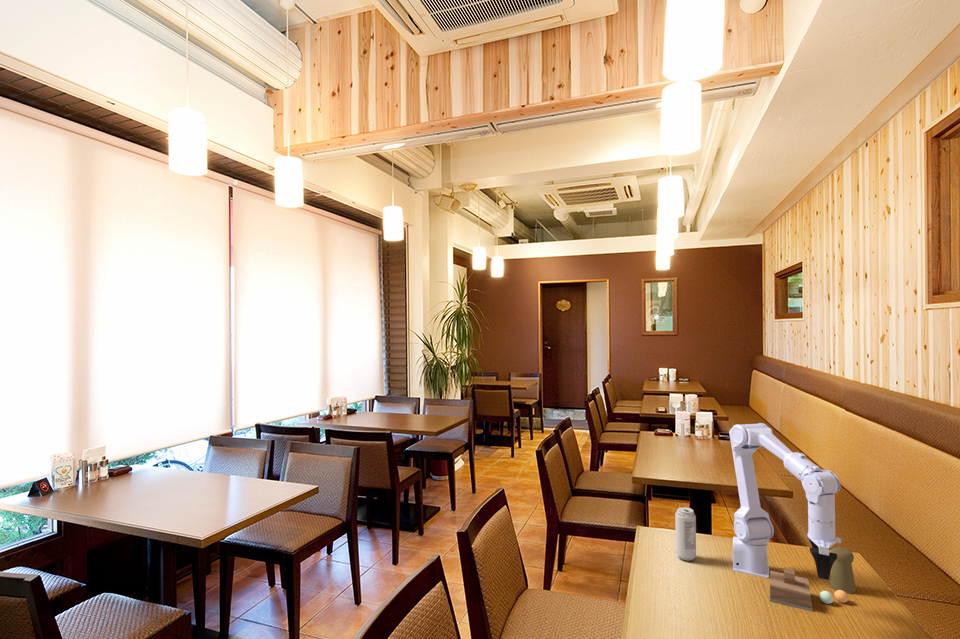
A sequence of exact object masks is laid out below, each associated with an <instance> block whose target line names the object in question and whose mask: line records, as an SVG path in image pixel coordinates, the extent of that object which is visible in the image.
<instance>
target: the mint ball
mask: <svg viewBox="0 0 960 639" xmlns="http://www.w3.org/2000/svg"><path fill="white" fill-rule="evenodd" d="M833 596H834V595H832V594H831V592H830V591H827V590H822V591H820V592H819V596H818V597H819V599H820V600H821V602H822V603H824V604H827V605H829V604H832V603H833V602H834V597H833Z"/></svg>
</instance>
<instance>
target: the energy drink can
mask: <svg viewBox="0 0 960 639" xmlns="http://www.w3.org/2000/svg"><path fill="white" fill-rule="evenodd" d="M674 514H675V515H674V518H675V521H674V522H675V554H676V555H677V557H678V558H679V559H680V560H683V561H687V562H688V561H693V560H695V558H696V557H697V523H696V522H697V519H696V518H697V516H696V514H695V512H694V509H692V508H691V507H687V506H686V507H685V506H681V507H680V506H679V507H678V508H677V510H676V512H675V513H674Z"/></svg>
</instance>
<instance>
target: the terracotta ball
mask: <svg viewBox="0 0 960 639" xmlns="http://www.w3.org/2000/svg"><path fill="white" fill-rule="evenodd" d="M833 594H834V595H833V596H834V598H835V600H837V602H839V603H841V604H842V603H843V604H844V603H845V604H846V603H847V602H848V601H849V594H847V593H846V592H844V591H842V590H837V591H836V590H835V592H834V593H833Z"/></svg>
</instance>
